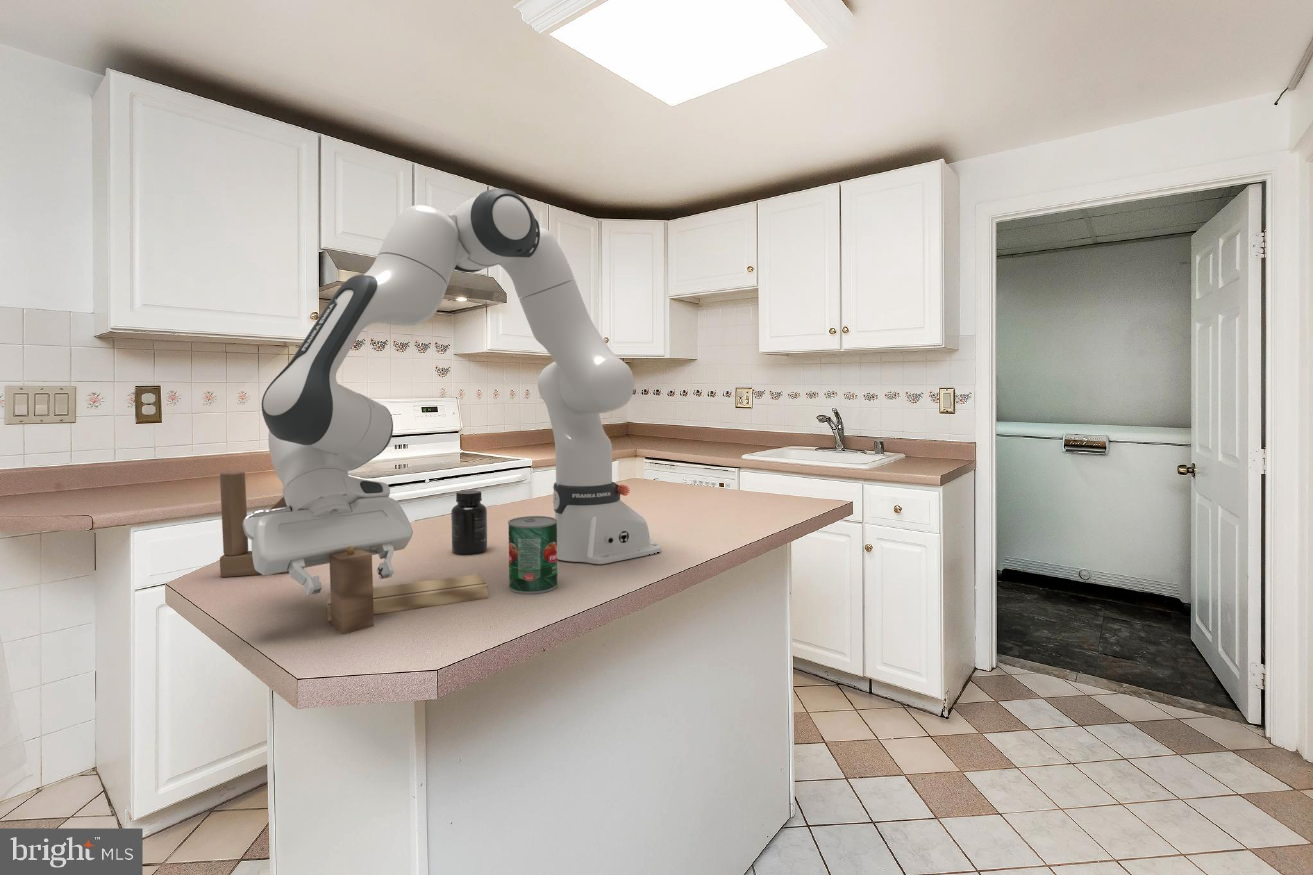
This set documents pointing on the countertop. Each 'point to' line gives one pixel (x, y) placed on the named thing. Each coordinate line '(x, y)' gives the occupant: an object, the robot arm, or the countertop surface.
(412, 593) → the board
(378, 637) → the countertop surface
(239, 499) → the wooden block structure
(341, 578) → the block
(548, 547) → the canned tomato
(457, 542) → the supplement bottle
